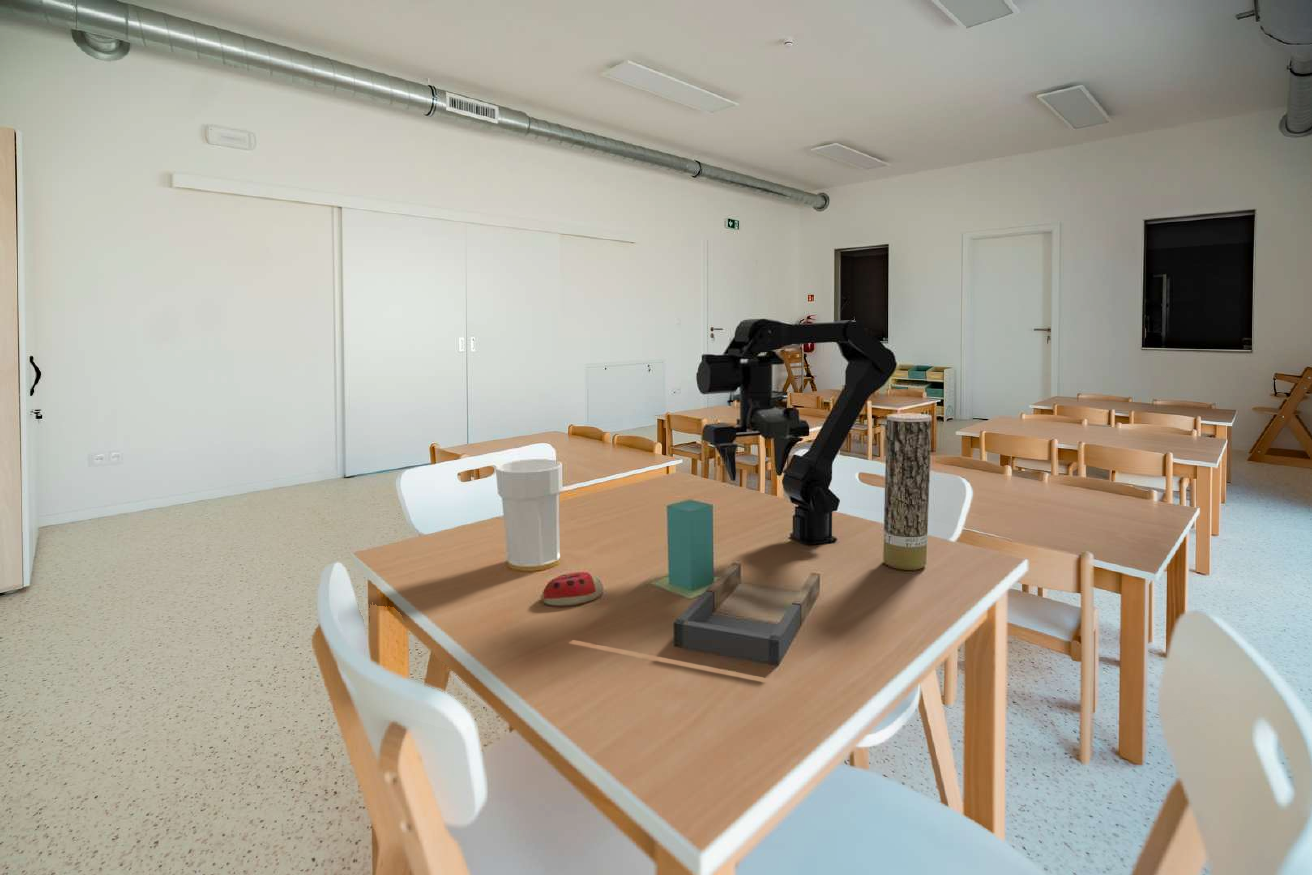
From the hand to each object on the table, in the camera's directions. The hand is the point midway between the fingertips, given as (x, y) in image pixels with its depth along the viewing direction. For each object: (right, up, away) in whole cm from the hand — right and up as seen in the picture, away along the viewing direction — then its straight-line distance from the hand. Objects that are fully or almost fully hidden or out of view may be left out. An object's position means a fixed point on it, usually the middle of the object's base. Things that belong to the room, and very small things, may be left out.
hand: (756, 477), depth 122 cm
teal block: (-12, -16, -15) cm, 25 cm away
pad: (-12, -16, -15) cm, 25 cm away
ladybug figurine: (-31, -17, -19) cm, 40 cm away
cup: (-39, -15, -3) cm, 42 cm away
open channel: (-2, -17, -23) cm, 29 cm away
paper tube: (+23, -14, -9) cm, 29 cm away
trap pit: (-7, -19, -34) cm, 40 cm away
